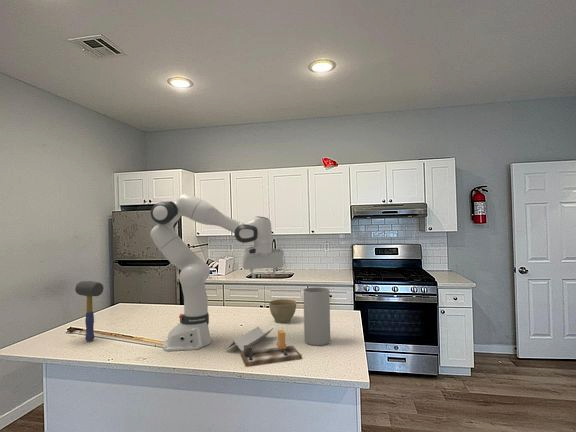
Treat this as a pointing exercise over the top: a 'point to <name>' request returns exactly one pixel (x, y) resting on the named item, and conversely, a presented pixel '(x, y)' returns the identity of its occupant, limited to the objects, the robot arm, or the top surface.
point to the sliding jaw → (281, 341)
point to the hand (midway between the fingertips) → (263, 277)
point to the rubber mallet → (89, 303)
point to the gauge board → (268, 355)
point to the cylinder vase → (316, 316)
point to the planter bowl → (282, 310)
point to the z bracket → (249, 338)
